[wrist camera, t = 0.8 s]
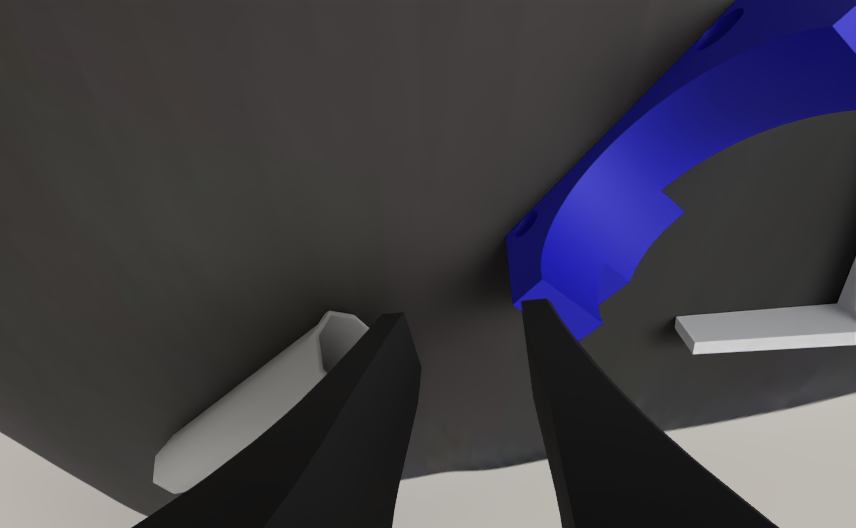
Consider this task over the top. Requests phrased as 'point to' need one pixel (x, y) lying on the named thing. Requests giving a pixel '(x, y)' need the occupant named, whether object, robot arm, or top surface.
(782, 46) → the cable clip
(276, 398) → the tube
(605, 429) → the robot arm
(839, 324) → the bracket
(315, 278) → the top surface
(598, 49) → the top surface
